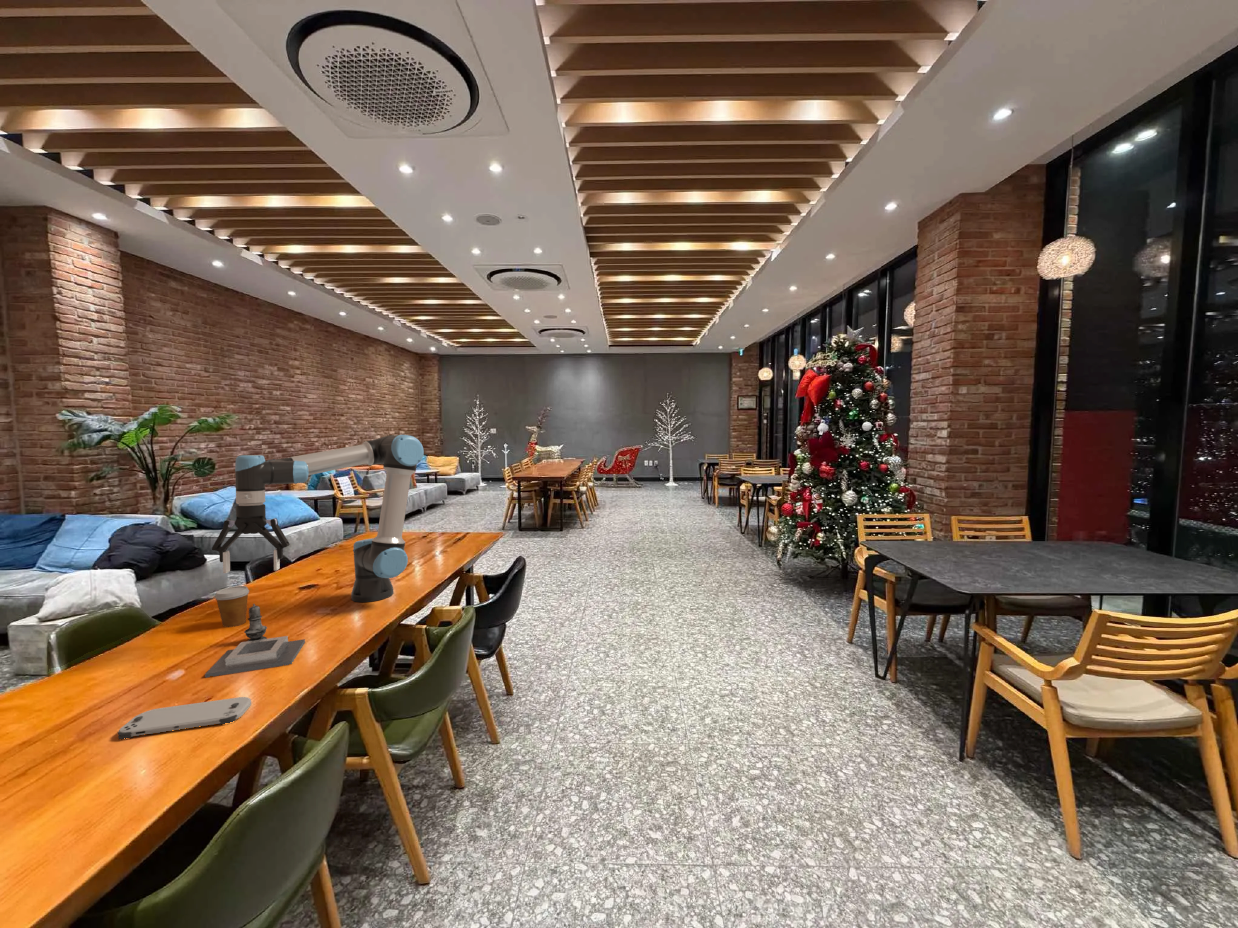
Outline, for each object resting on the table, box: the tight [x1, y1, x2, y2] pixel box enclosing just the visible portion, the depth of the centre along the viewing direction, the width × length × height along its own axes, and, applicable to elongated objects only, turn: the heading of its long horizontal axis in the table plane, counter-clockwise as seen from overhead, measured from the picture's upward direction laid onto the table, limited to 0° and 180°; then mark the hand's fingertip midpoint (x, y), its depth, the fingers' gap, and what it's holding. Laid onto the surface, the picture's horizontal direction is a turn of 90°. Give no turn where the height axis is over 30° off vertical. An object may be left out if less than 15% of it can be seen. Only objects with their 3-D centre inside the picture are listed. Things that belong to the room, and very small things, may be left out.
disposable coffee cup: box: [214, 585, 250, 628], centre depth 174 cm, size 10×10×12 cm
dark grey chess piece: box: [244, 603, 268, 641], centre depth 159 cm, size 6×6×12 cm
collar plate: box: [204, 635, 306, 679], centre depth 146 cm, size 20×16×4 cm
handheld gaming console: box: [117, 696, 252, 740], centre depth 116 cm, size 23×3×10 cm
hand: (252, 570), depth 160 cm, fingers open, 13 cm apart
